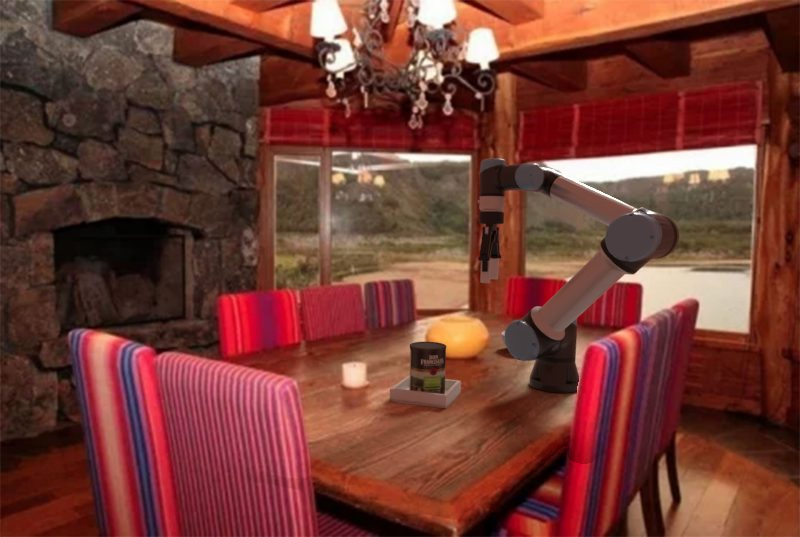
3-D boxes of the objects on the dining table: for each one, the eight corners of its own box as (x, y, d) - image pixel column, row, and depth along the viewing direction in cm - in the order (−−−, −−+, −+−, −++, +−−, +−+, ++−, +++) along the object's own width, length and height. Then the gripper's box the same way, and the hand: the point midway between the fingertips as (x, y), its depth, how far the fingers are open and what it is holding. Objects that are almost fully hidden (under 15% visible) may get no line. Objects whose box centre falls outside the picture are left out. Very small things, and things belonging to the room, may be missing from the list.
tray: (460, 392, 169) (460, 380, 169) (446, 408, 154) (446, 395, 154) (408, 386, 175) (408, 375, 174) (389, 401, 160) (389, 388, 159)
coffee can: (450, 398, 161) (451, 348, 160) (415, 401, 158) (415, 349, 157) (438, 388, 171) (439, 340, 169) (404, 390, 168) (405, 342, 167)
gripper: (487, 211, 189) (485, 277, 191) (470, 209, 165) (468, 284, 167) (510, 212, 186) (508, 278, 188) (496, 209, 163) (494, 285, 165)
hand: (489, 281), depth 178 cm, fingers open, 13 cm apart
